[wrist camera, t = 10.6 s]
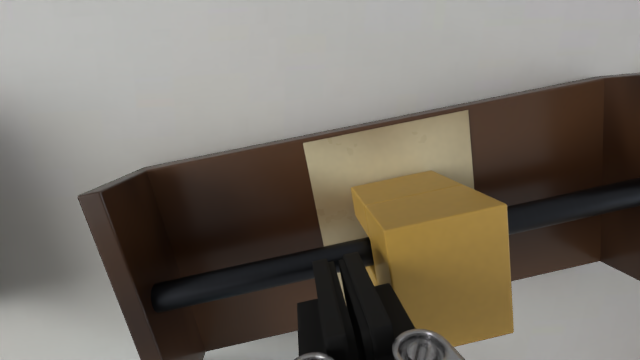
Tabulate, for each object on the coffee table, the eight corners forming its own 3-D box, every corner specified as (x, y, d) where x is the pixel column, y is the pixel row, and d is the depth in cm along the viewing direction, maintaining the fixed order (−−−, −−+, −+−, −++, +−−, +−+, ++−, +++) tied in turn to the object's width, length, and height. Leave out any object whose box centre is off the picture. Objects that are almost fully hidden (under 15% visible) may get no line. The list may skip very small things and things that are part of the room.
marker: (350, 186, 15) (383, 230, 10) (432, 169, 15) (507, 203, 10) (365, 276, 16) (403, 359, 11) (441, 259, 16) (514, 333, 11)
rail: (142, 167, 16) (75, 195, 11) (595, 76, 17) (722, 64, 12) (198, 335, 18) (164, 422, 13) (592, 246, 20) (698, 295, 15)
